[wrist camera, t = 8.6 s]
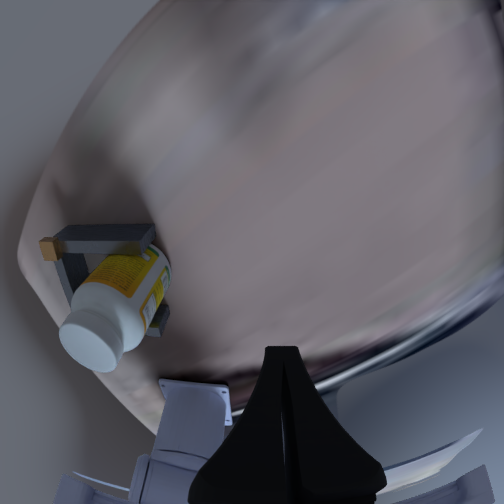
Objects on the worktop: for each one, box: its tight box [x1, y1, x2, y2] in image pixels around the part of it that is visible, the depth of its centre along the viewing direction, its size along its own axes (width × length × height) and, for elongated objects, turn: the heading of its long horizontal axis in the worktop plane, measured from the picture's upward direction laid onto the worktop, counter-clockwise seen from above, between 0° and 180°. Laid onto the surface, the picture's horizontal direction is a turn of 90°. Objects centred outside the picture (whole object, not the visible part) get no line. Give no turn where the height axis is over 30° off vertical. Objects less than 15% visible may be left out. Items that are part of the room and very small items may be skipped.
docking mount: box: [39, 224, 170, 337], centre depth 20 cm, size 9×9×4 cm
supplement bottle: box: [59, 244, 171, 372], centre depth 18 cm, size 5×5×10 cm
